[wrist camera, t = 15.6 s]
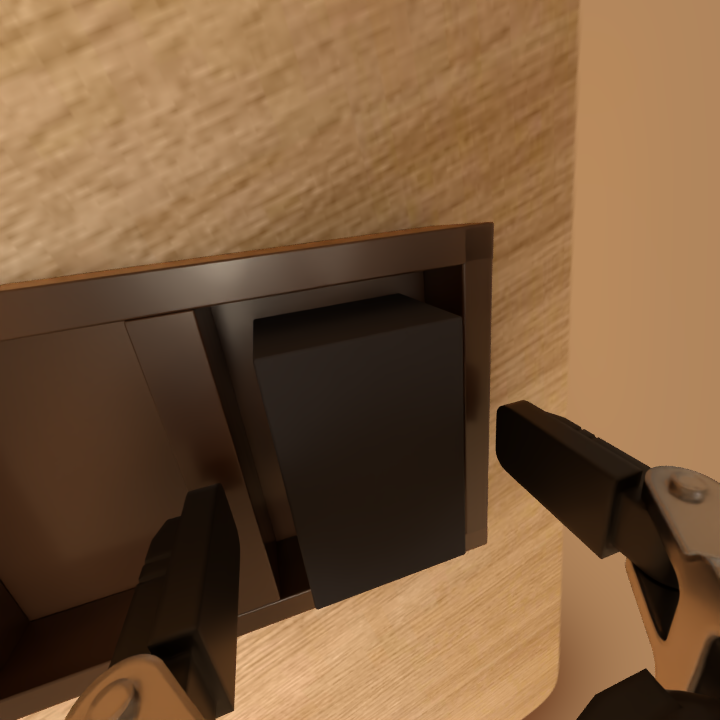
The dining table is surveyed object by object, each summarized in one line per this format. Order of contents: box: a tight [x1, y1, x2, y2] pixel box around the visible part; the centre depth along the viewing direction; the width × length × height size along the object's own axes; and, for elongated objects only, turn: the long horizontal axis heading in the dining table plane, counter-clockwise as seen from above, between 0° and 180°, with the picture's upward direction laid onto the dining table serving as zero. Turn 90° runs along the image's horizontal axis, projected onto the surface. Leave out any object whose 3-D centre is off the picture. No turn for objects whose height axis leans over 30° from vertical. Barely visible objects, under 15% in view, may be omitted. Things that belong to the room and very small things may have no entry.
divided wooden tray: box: [0, 222, 494, 720], centre depth 11 cm, size 18×12×4 cm
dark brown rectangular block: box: [253, 293, 466, 609], centre depth 11 cm, size 5×8×4 cm, turn 7°
